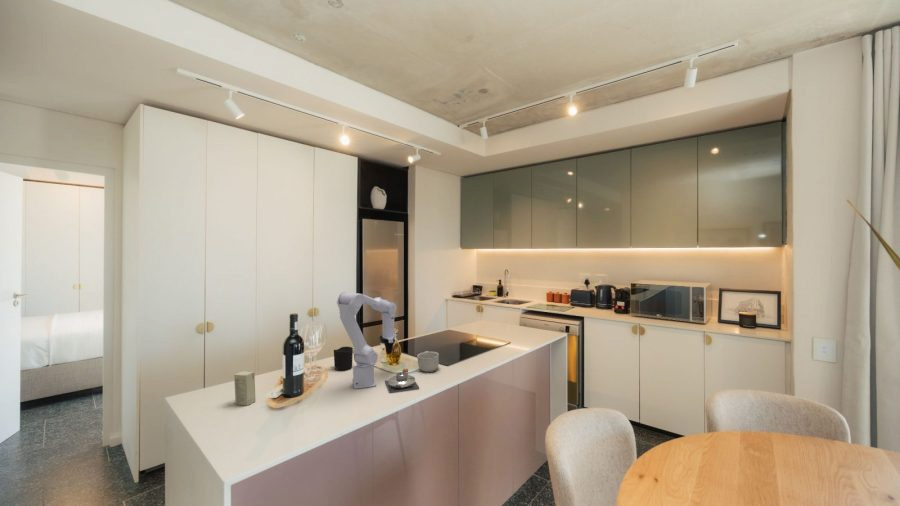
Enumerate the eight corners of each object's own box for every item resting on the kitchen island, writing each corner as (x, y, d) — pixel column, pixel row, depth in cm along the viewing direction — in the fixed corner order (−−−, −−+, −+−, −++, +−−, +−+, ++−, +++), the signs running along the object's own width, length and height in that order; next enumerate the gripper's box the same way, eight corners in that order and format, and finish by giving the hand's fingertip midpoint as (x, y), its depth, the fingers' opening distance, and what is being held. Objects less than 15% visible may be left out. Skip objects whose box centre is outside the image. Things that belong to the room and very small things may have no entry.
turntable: (411, 388, 153) (411, 380, 153) (384, 387, 154) (384, 380, 154) (418, 375, 168) (418, 368, 167) (393, 375, 169) (393, 368, 169)
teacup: (438, 373, 174) (438, 357, 174) (416, 373, 174) (415, 357, 174) (439, 364, 188) (439, 349, 188) (419, 364, 188) (419, 349, 188)
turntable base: (389, 393, 152) (389, 390, 151) (385, 382, 164) (385, 379, 164) (419, 389, 156) (419, 386, 156) (412, 378, 168) (412, 376, 168)
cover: (406, 381, 157) (406, 375, 157) (395, 381, 157) (395, 375, 157) (408, 377, 162) (408, 371, 162) (397, 377, 162) (397, 371, 162)
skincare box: (256, 401, 145) (255, 371, 144) (247, 406, 141) (246, 375, 140) (243, 399, 146) (242, 370, 146) (234, 404, 142) (233, 374, 142)
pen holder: (334, 366, 186) (333, 347, 186) (352, 364, 189) (352, 345, 189) (333, 372, 177) (333, 352, 177) (353, 370, 180) (353, 350, 180)
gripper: (399, 328, 169) (399, 357, 169) (394, 322, 183) (394, 348, 183) (384, 330, 167) (384, 358, 167) (380, 323, 180) (380, 350, 181)
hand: (388, 353), depth 175 cm, fingers closed
